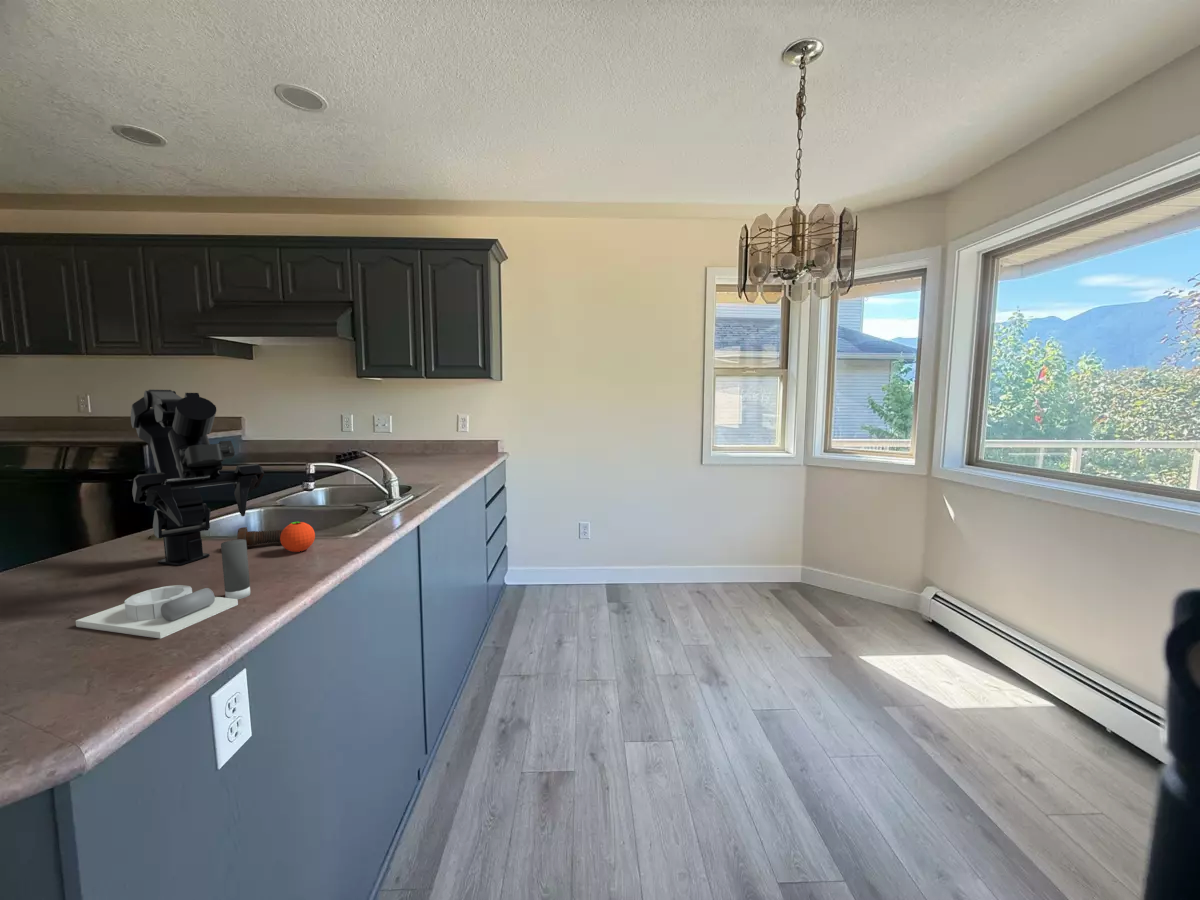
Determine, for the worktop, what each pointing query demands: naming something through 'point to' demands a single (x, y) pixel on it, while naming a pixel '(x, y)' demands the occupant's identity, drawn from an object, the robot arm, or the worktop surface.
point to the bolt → (258, 536)
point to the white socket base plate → (159, 611)
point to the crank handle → (235, 569)
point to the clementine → (297, 536)
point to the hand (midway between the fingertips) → (213, 520)
